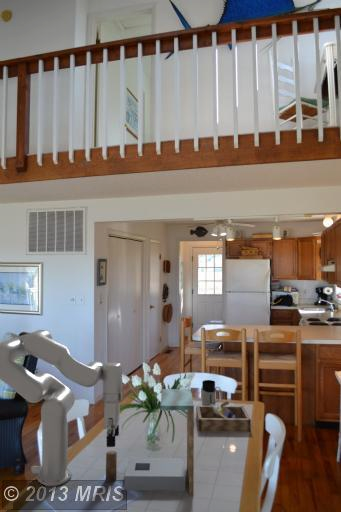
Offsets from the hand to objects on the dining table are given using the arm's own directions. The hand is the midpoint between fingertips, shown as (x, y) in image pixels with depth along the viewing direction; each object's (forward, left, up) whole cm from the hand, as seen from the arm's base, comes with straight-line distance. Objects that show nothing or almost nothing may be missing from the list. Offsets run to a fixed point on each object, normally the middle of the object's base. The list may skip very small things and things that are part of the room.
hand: (112, 440), depth 150 cm
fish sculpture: (+52, +56, -15) cm, 78 cm away
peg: (-1, 0, -15) cm, 15 cm away
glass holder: (+46, +79, -15) cm, 93 cm away
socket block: (+16, 0, -15) cm, 22 cm away
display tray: (+49, +56, -15) cm, 76 cm away
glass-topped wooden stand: (+24, 0, -15) cm, 29 cm away
